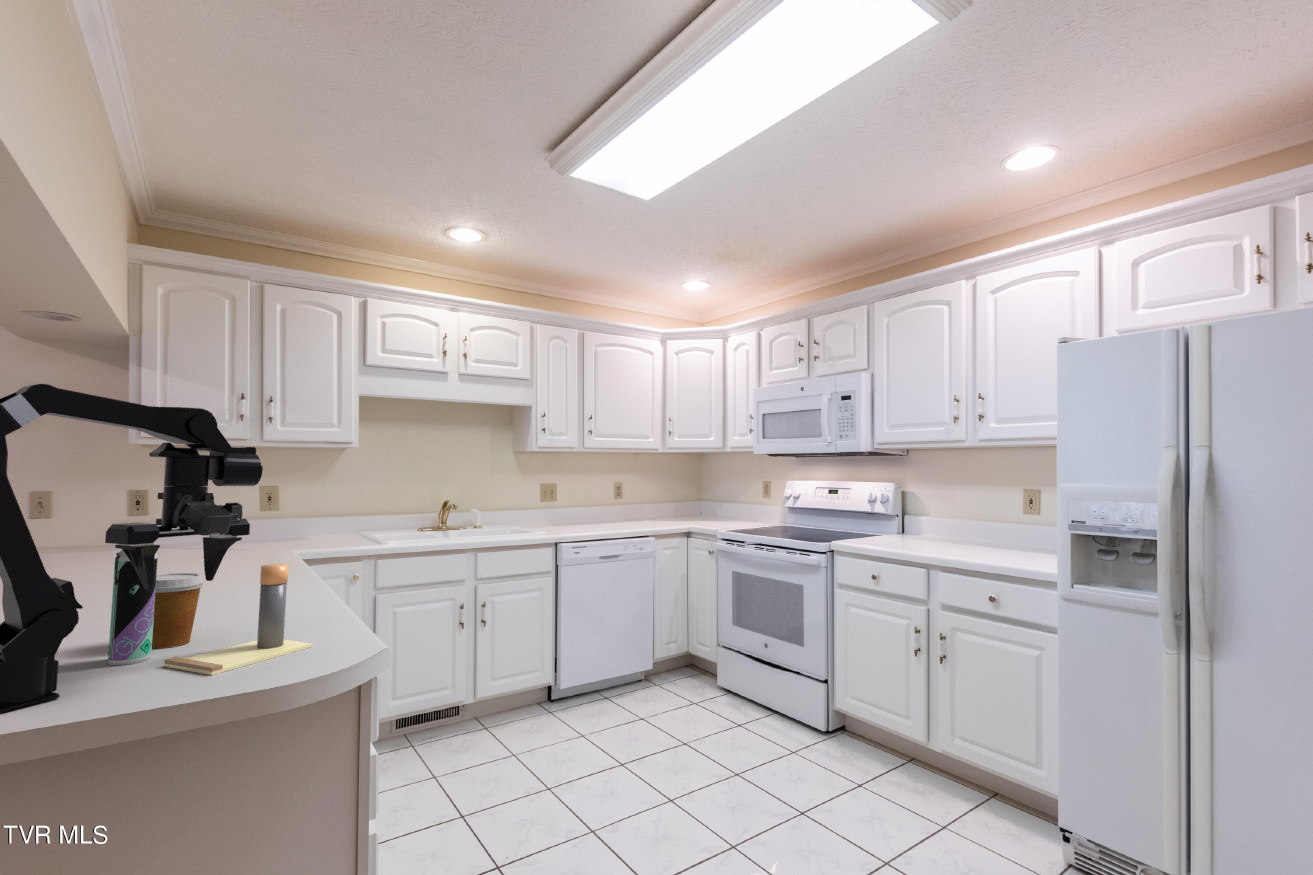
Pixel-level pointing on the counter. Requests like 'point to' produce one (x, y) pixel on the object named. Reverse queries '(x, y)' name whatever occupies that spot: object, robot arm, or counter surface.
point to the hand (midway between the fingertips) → (180, 584)
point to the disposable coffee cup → (175, 608)
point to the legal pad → (232, 657)
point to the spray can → (130, 615)
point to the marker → (272, 605)
